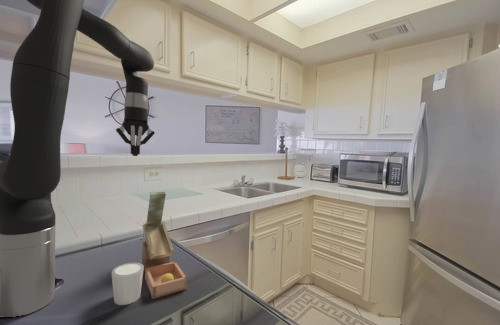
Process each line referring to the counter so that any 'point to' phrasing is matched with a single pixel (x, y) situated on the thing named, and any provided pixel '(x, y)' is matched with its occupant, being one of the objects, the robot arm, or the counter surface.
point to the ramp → (157, 228)
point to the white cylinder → (127, 283)
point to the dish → (166, 288)
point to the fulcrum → (154, 262)
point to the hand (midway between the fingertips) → (135, 155)
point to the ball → (167, 278)
